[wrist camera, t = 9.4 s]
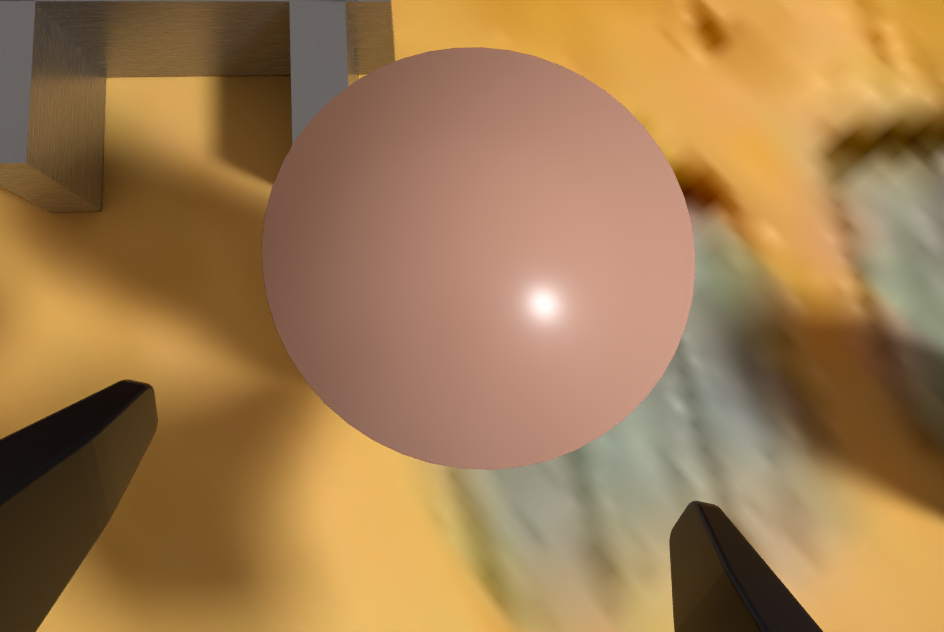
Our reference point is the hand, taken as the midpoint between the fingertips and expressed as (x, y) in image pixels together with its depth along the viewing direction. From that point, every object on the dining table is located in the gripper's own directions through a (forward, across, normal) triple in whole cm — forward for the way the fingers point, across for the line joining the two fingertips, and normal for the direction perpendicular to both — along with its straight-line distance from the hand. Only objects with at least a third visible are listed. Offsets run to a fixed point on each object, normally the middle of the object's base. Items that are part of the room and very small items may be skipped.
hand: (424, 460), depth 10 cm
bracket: (+12, +9, 0) cm, 15 cm away
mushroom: (+8, 0, +4) cm, 9 cm away
